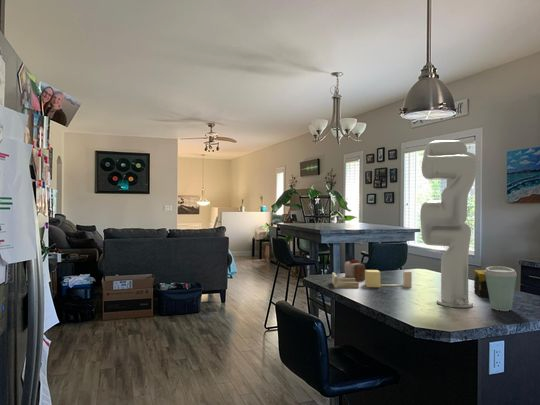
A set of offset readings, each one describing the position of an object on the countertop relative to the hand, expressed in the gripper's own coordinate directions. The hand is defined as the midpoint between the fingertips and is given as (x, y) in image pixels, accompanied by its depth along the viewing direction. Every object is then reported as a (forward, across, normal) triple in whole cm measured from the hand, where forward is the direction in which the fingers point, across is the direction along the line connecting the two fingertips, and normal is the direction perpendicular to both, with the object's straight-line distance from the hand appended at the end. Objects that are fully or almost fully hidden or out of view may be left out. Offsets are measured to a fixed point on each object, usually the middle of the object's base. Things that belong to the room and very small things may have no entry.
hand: (455, 227), depth 178 cm
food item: (+29, +27, +40) cm, 56 cm away
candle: (+29, -8, -11) cm, 32 cm away
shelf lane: (+28, +8, +48) cm, 56 cm away
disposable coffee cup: (+28, -31, -4) cm, 42 cm away
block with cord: (+28, +8, +27) cm, 40 cm away
